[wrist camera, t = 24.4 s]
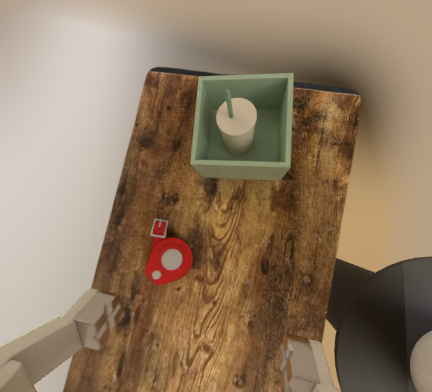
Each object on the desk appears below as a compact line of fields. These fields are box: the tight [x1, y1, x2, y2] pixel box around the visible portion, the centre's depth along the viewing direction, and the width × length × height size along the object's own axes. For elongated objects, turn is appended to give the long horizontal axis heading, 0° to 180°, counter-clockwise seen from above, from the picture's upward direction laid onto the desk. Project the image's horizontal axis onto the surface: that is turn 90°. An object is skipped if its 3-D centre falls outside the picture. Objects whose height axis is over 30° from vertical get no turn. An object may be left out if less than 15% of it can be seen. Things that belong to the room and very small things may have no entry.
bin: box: [190, 73, 293, 181], centre depth 37 cm, size 16×16×10 cm
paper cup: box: [216, 89, 257, 155], centre depth 34 cm, size 6×6×16 cm
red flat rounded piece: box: [145, 218, 193, 285], centre depth 39 cm, size 12×4×10 cm
